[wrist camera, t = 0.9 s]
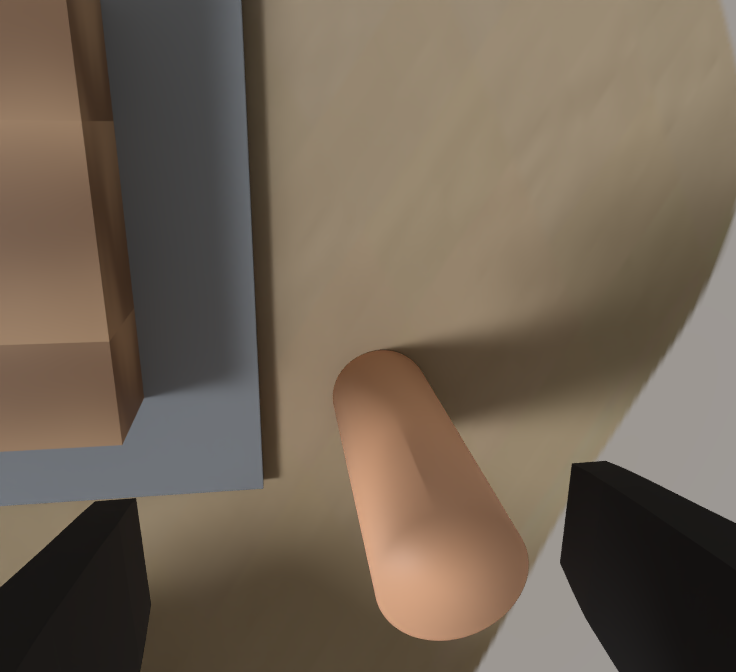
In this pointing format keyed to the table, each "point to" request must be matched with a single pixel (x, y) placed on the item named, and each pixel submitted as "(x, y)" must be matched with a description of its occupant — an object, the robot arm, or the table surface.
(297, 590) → the table surface
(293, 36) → the table surface
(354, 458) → the dowel
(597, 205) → the table surface
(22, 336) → the square frame
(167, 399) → the mat
